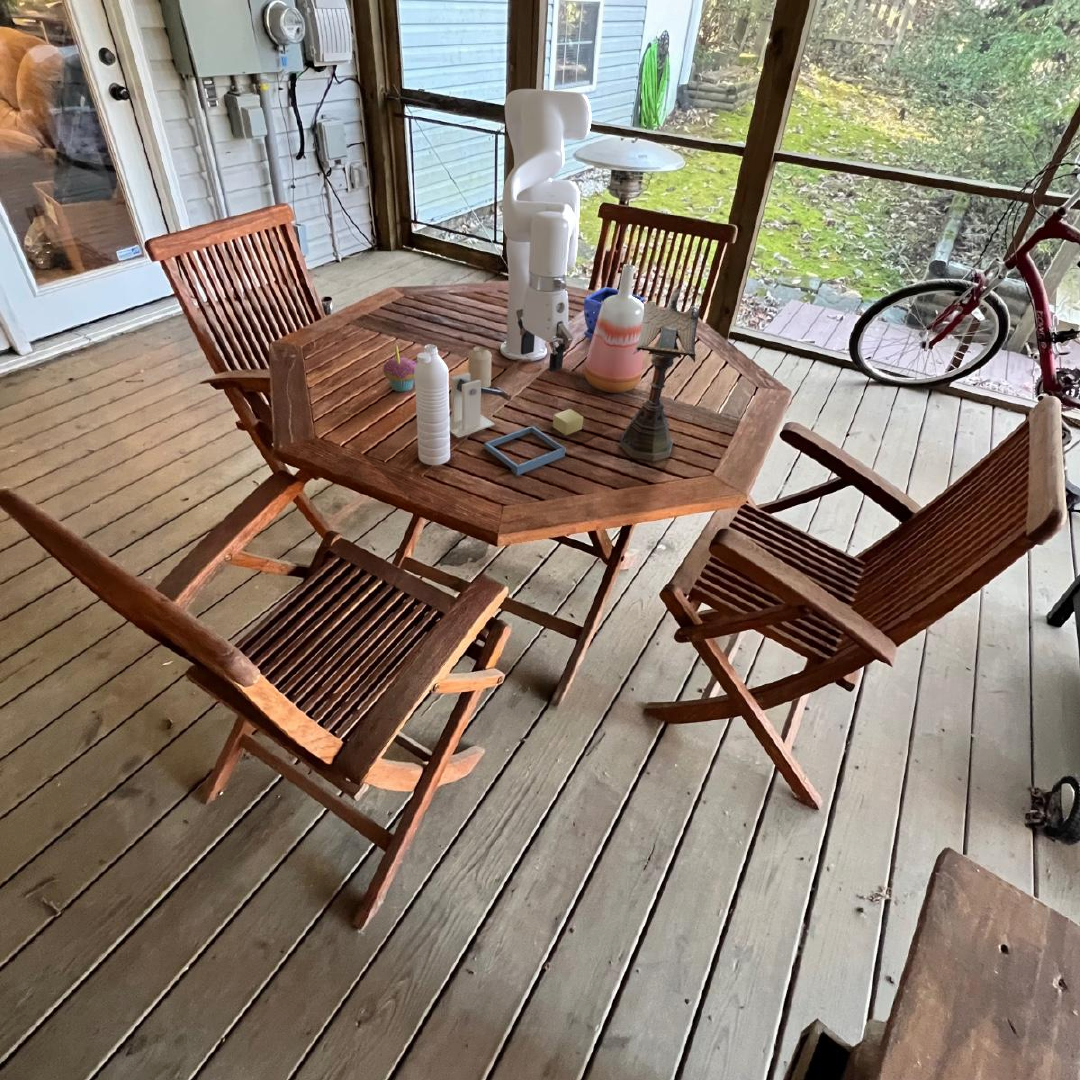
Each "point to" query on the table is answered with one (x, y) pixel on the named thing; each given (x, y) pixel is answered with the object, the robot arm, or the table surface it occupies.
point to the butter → (567, 421)
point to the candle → (480, 366)
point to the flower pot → (598, 307)
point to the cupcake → (400, 372)
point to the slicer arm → (487, 390)
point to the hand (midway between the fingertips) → (541, 361)
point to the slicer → (466, 407)
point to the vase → (617, 341)
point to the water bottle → (432, 407)
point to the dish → (532, 463)
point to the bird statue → (659, 376)
